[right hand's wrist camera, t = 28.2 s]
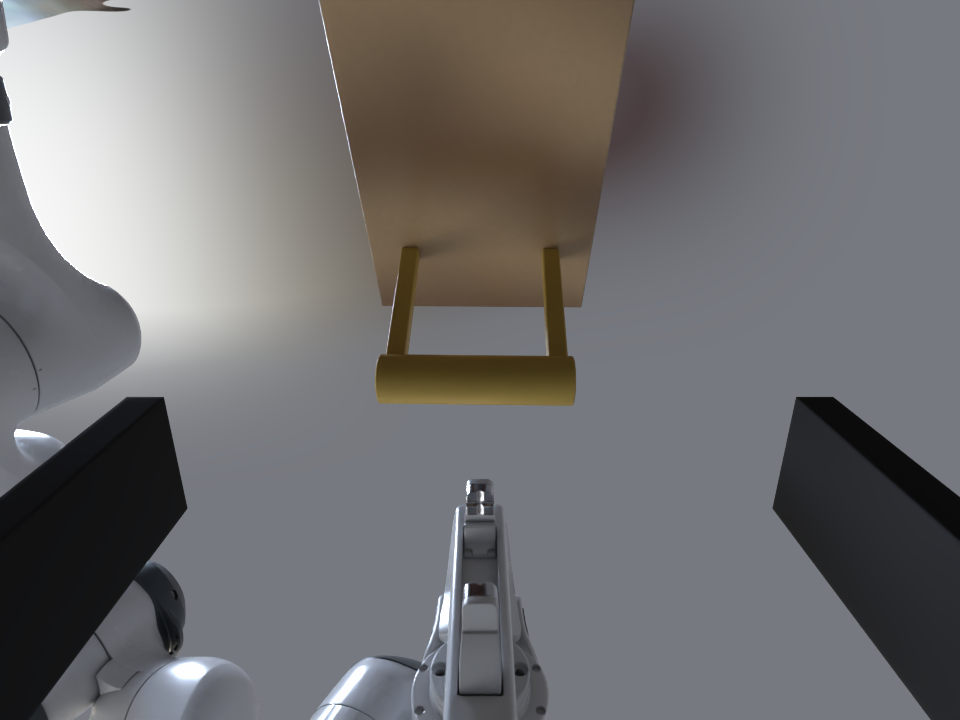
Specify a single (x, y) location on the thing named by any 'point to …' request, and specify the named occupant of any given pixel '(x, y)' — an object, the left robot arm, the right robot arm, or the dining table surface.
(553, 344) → the lid
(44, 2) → the dining table surface
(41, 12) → the dining table surface
